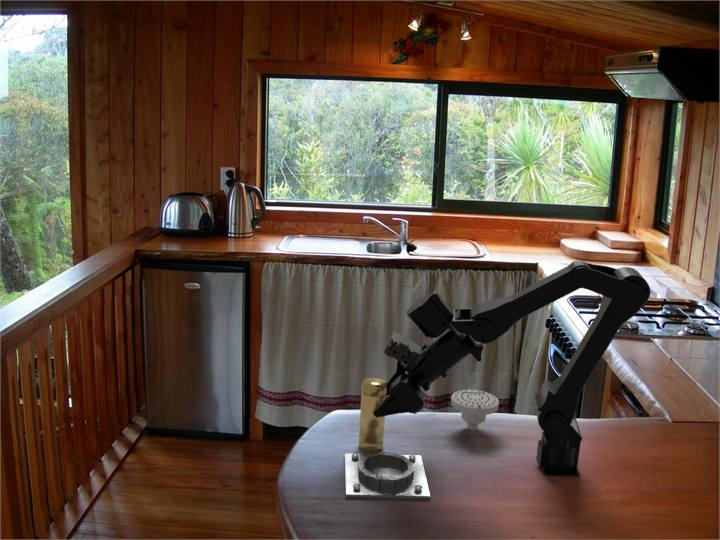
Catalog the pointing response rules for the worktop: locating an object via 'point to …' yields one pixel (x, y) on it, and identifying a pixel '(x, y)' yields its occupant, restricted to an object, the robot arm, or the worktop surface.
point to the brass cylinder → (369, 424)
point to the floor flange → (385, 476)
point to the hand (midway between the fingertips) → (377, 404)
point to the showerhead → (474, 406)
